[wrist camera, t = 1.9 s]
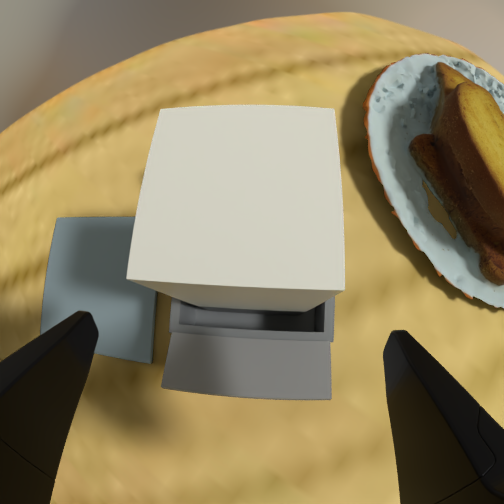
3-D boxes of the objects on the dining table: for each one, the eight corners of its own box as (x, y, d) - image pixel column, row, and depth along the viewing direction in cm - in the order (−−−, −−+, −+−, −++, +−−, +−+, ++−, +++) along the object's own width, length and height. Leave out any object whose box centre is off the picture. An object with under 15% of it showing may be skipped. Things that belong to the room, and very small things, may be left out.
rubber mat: (152, 363, 19) (149, 363, 18) (43, 339, 19) (39, 339, 19) (166, 218, 21) (164, 216, 21) (59, 219, 22) (57, 217, 21)
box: (298, 315, 19) (344, 290, 7) (211, 311, 19) (126, 279, 7) (300, 231, 20) (334, 108, 8) (218, 228, 20) (160, 109, 9)
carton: (318, 382, 18) (335, 401, 13) (186, 374, 18) (157, 388, 13) (321, 177, 21) (333, 134, 16) (204, 174, 22) (187, 131, 17)
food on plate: (572, 198, 20) (604, 178, 14) (501, 373, 17) (555, 377, 11) (434, 47, 26) (451, 10, 19) (296, 143, 23) (303, 84, 16)
